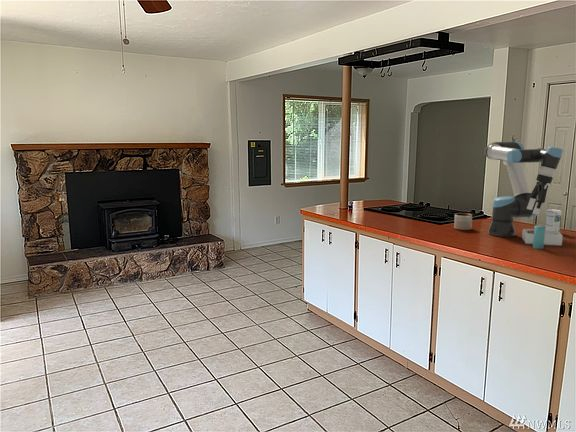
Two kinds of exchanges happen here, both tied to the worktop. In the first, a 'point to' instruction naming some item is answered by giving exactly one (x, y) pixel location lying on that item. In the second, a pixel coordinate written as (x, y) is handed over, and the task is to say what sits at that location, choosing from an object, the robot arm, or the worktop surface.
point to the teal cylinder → (538, 237)
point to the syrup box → (553, 220)
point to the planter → (463, 221)
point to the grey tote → (549, 239)
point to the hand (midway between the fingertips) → (532, 211)
